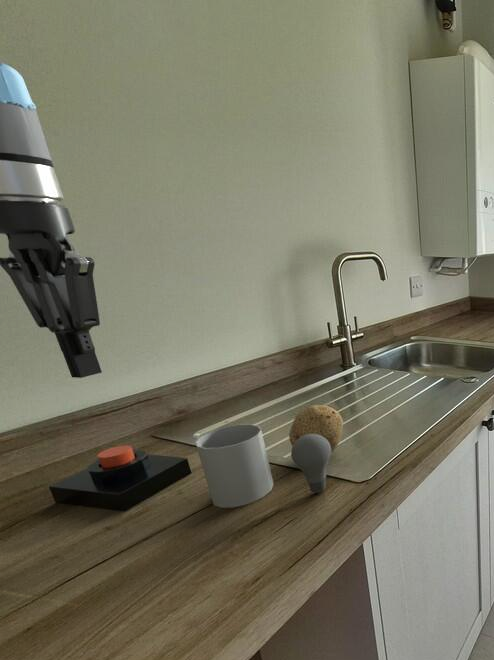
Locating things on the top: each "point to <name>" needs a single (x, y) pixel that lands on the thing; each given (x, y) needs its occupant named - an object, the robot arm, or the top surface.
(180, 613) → the top surface
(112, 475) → the black button base
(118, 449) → the button
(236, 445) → the cup
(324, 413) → the natural sponge
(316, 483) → the light bulb
